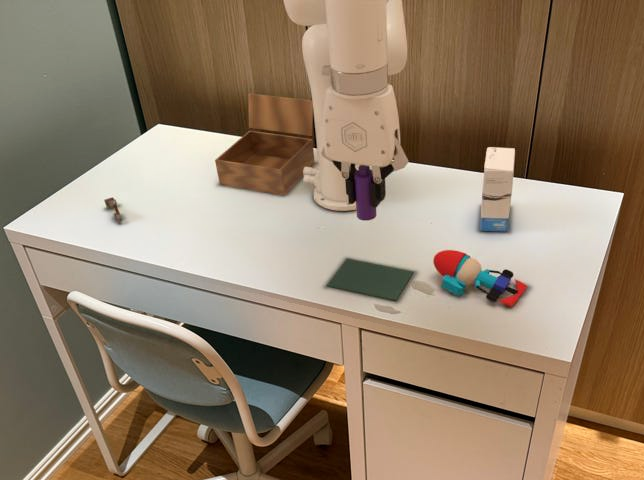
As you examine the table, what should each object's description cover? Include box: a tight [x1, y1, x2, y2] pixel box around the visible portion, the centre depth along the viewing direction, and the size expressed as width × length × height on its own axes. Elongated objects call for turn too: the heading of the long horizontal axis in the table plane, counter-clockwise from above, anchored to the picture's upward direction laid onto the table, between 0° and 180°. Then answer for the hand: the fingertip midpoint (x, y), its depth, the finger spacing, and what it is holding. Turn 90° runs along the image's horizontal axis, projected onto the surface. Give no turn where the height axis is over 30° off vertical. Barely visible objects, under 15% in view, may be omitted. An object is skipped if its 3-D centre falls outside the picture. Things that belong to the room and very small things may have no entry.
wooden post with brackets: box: [103, 196, 123, 223], centre depth 137 cm, size 2×8×4 cm, turn 28°
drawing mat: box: [326, 258, 414, 302], centre depth 116 cm, size 12×8×1 cm, turn 65°
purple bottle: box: [354, 165, 378, 222], centre depth 105 cm, size 3×3×8 cm
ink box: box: [479, 146, 516, 232], centre depth 123 cm, size 8×5×12 cm, turn 168°
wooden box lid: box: [247, 93, 314, 137], centre depth 145 cm, size 15×7×1 cm
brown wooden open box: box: [214, 130, 316, 197], centre depth 144 cm, size 15×14×5 cm
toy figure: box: [433, 249, 528, 307], centre depth 112 cm, size 8×5×15 cm
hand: (366, 200), depth 106 cm, fingers closed on purple bottle, 3 cm apart
